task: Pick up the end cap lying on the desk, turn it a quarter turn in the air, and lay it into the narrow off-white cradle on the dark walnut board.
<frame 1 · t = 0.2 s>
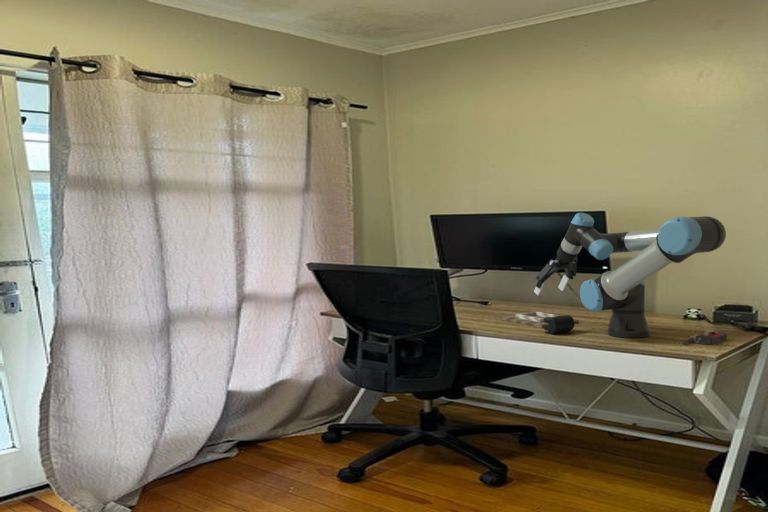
hand: (548, 291, 266), 15 cm above the table, tool tilted 35°, fingers open, 13 cm apart
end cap: (558, 333, 256), on the table
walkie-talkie: (704, 344, 230), on the table
lens rest: (538, 321, 284), on the table
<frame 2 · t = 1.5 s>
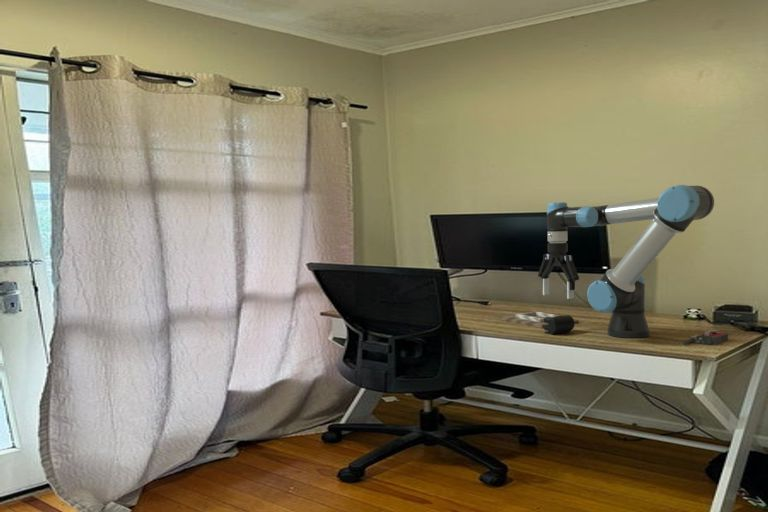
hand: (558, 296, 255), 14 cm above the table, tool pointing down, fingers open, 13 cm apart
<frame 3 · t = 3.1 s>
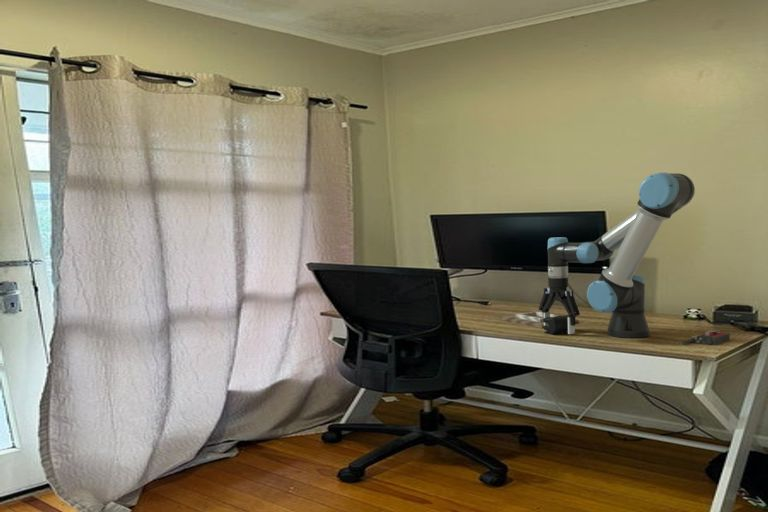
hand: (558, 331, 256), 1 cm above the table, tool pointing down, fingers open, 13 cm apart
nothing on the table moved.
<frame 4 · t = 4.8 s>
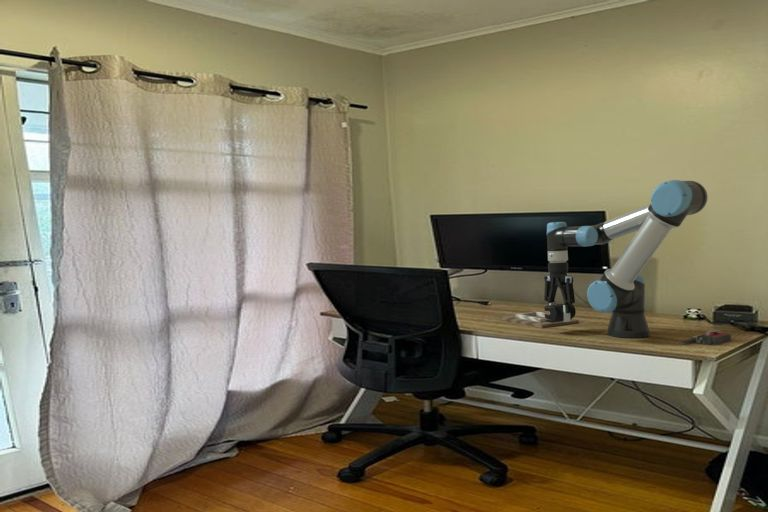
hand: (560, 320, 255), 5 cm above the table, tool pointing down, fingers closed on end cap, 7 cm apart
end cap: (560, 321, 255), point 4 cm above the table, touching gripper
everything else where it was.
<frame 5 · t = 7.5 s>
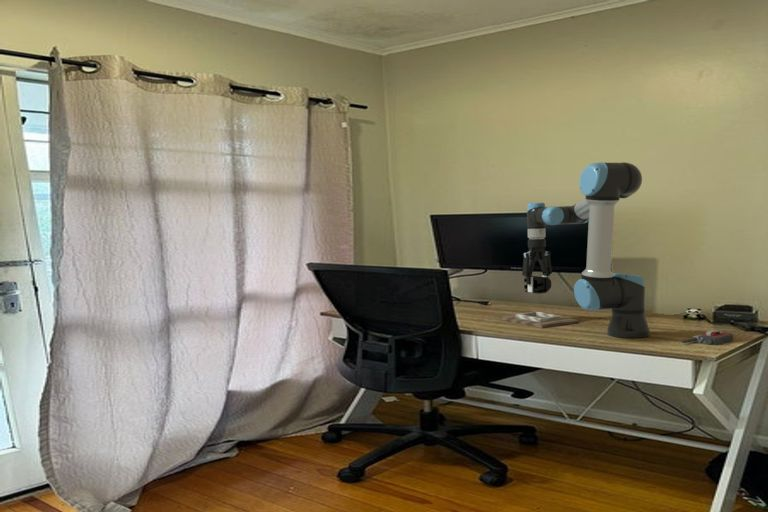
hand: (537, 291, 283), 13 cm above the table, tool pointing down, fingers closed on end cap, 7 cm apart
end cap: (537, 292, 283), point 13 cm above the table, touching gripper
when the fingers open (3 cm above the table, at t = 10.3 s): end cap stays where it is, resting on lens rest.
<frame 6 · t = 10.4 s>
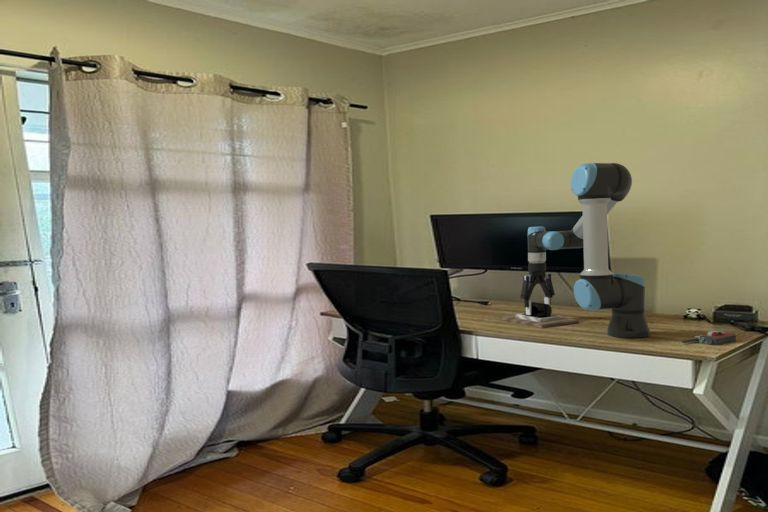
hand: (537, 313, 284), 3 cm above the table, tool pointing down, fingers open, 10 cm apart
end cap: (538, 318, 284), point 1 cm above the table, touching lens rest
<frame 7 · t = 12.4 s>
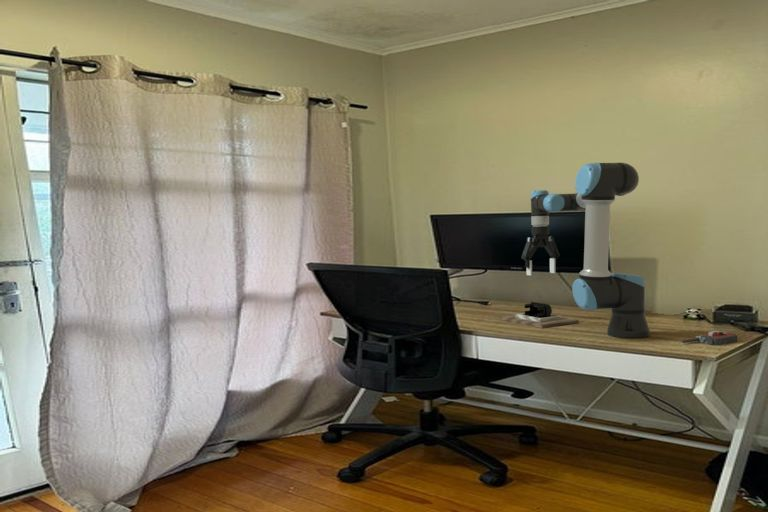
hand: (541, 274, 288), 20 cm above the table, tool pointing down, fingers open, 13 cm apart
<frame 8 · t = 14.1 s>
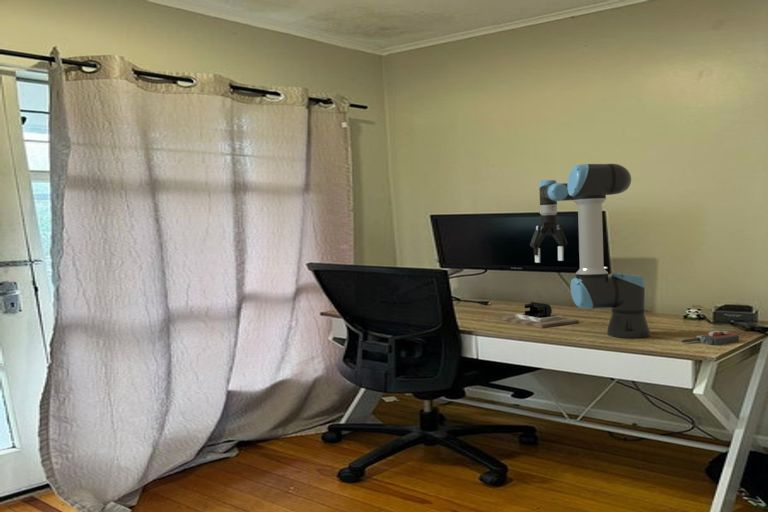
hand: (549, 261, 296), 25 cm above the table, tool pointing down, fingers open, 13 cm apart
at the end: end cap 0.1 cm off-centre on the lens rest, point 1.0 cm above the lens rest's base; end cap touching lens rest; the gripper is holding nothing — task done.
